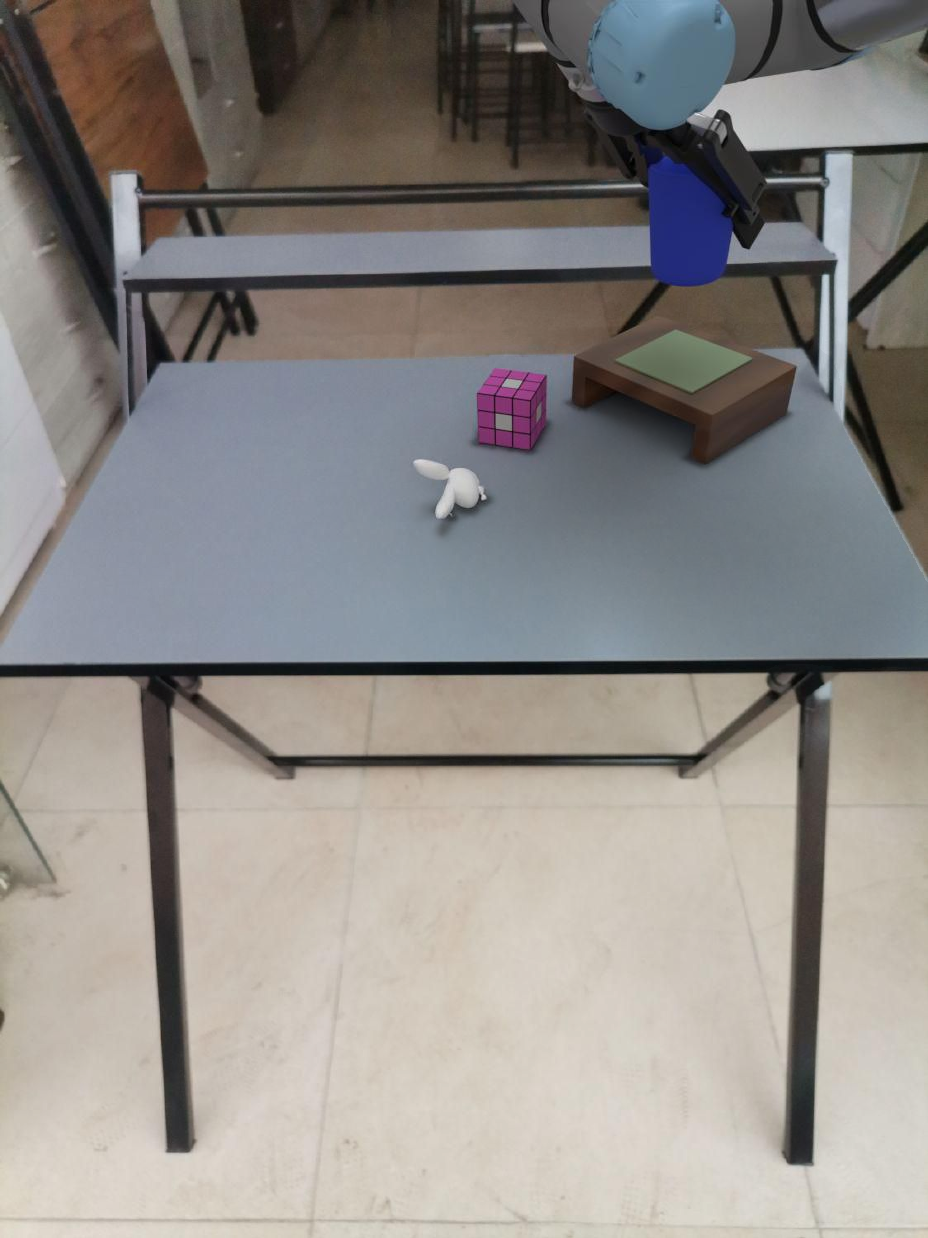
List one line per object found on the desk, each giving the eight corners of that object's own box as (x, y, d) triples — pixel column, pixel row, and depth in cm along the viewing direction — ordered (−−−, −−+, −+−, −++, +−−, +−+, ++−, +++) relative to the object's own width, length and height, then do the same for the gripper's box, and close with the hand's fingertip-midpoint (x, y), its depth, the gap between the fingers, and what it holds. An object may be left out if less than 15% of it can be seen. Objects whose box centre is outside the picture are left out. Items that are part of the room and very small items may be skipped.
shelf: (787, 413, 98) (797, 363, 94) (705, 464, 91) (713, 413, 87) (654, 360, 108) (658, 313, 104) (571, 402, 101) (573, 354, 97)
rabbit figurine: (505, 508, 87) (447, 509, 81) (478, 529, 89) (420, 531, 83) (480, 454, 88) (422, 451, 82) (454, 476, 91) (396, 474, 85)
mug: (747, 254, 91) (760, 142, 85) (721, 296, 83) (733, 175, 77) (665, 249, 94) (672, 141, 88) (632, 289, 86) (637, 173, 80)
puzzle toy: (478, 442, 96) (476, 392, 92) (495, 416, 100) (494, 367, 96) (530, 450, 94) (531, 400, 90) (546, 423, 98) (547, 374, 94)
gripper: (503, 88, 75) (620, 237, 94) (699, 129, 64) (788, 289, 83) (550, 1, 74) (659, 169, 93) (757, 27, 63) (834, 213, 82)
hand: (720, 225), depth 88 cm, fingers closed on mug, 7 cm apart
